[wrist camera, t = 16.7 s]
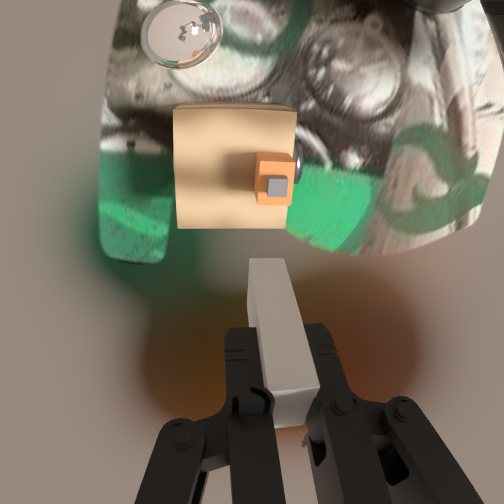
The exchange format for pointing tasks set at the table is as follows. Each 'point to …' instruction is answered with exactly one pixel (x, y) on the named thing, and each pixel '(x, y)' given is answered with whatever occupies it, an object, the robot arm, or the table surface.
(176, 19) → the light bulb
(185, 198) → the block
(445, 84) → the table surface
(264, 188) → the bar
